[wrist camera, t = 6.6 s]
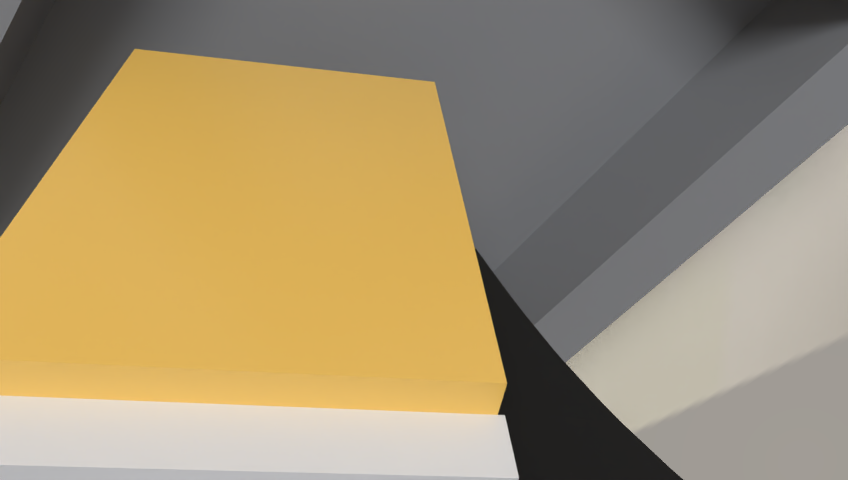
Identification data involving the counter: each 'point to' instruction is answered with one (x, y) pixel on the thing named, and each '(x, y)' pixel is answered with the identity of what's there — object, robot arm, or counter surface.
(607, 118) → the parts tray
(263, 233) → the yellow and white block
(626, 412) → the counter surface
